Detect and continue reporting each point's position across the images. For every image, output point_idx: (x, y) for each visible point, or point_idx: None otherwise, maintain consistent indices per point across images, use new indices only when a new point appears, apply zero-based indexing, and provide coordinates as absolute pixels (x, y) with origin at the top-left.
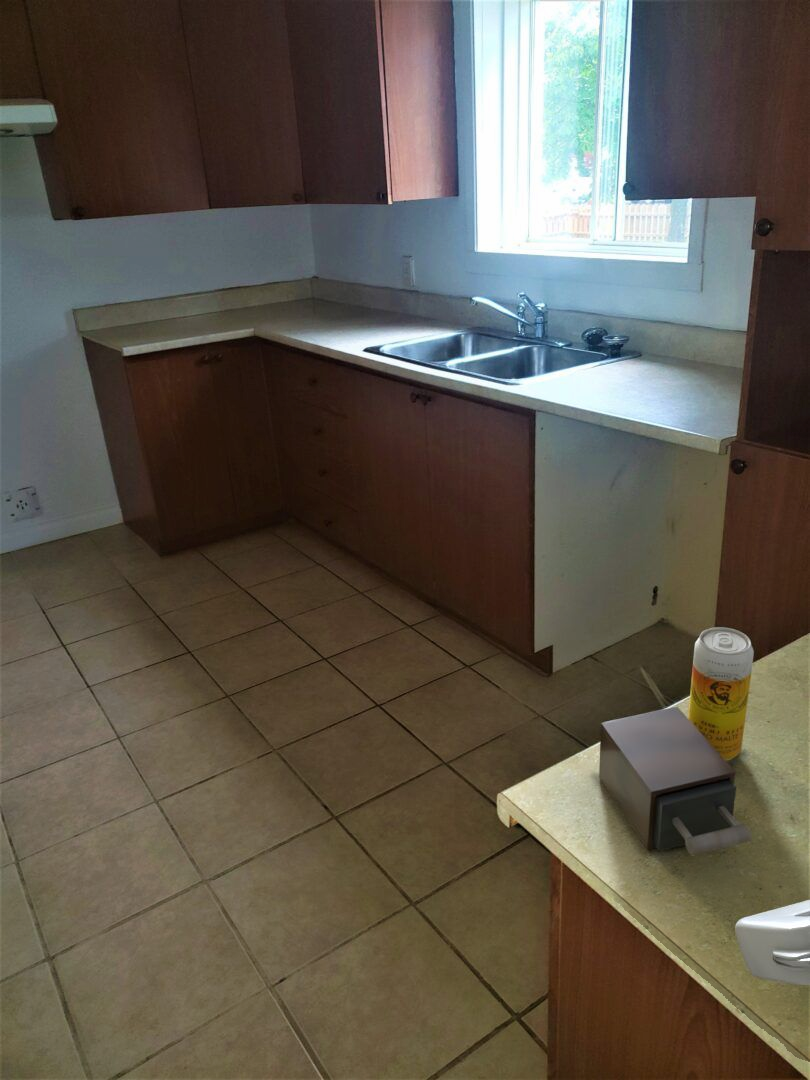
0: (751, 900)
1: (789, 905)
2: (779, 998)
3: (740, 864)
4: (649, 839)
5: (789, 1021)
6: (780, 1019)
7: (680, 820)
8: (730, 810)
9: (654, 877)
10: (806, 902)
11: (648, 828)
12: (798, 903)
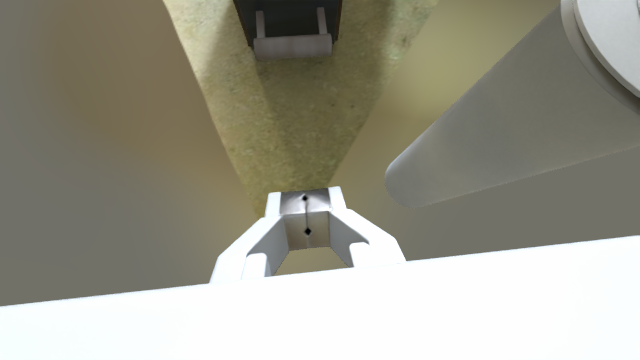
0: (317, 115)
1: (14, 331)
2: None
3: (328, 77)
4: (246, 35)
5: None
6: None
7: (262, 15)
8: (332, 16)
9: (240, 75)
10: (48, 356)
11: (240, 21)
12: (45, 334)
